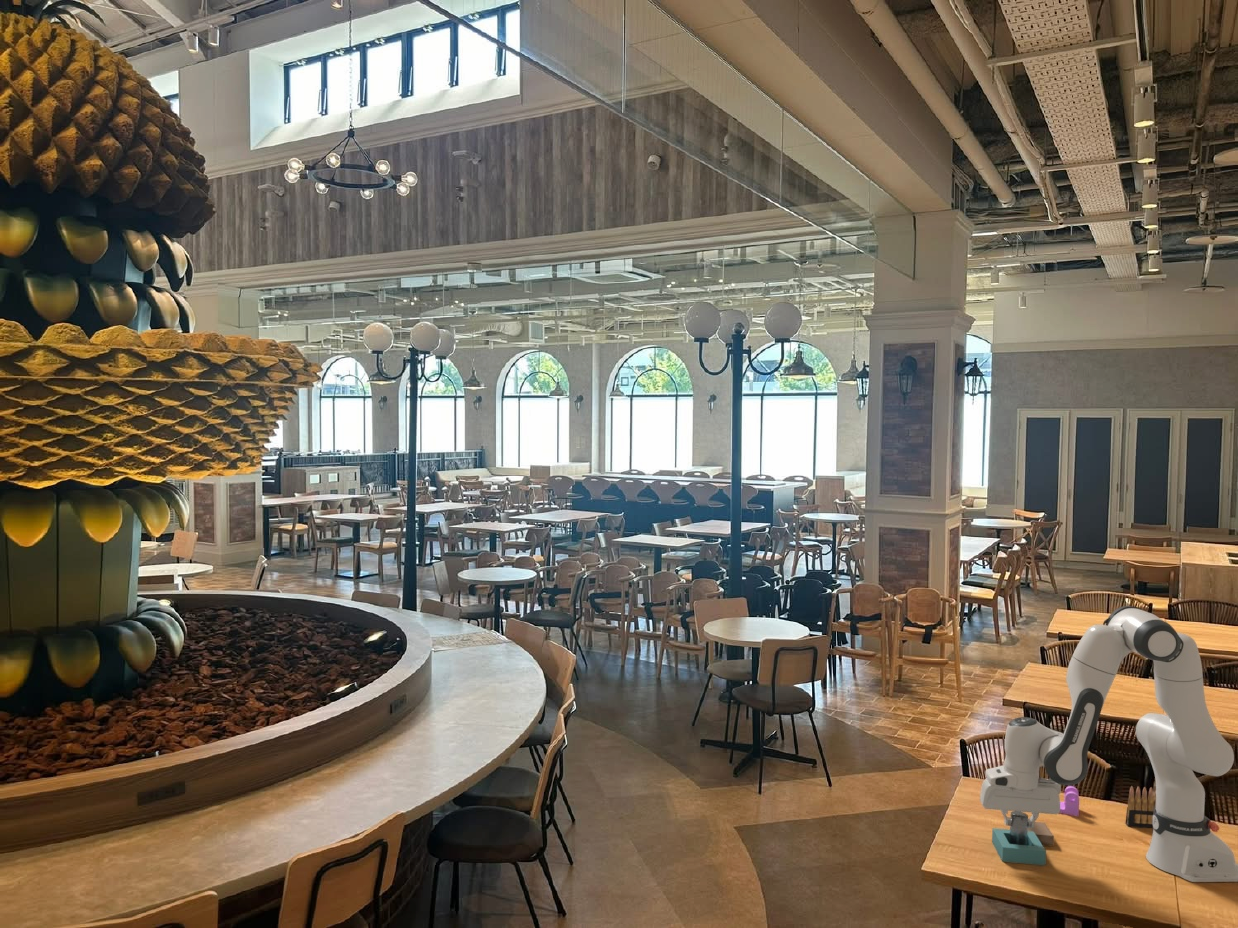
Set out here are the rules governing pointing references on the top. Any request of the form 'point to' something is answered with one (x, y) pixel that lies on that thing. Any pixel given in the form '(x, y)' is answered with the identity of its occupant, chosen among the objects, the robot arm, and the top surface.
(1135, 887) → the top surface
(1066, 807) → the bracket
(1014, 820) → the grey cylinder
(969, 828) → the top surface
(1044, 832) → the wooden block
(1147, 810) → the ammunition clip
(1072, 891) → the top surface
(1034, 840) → the hole block
